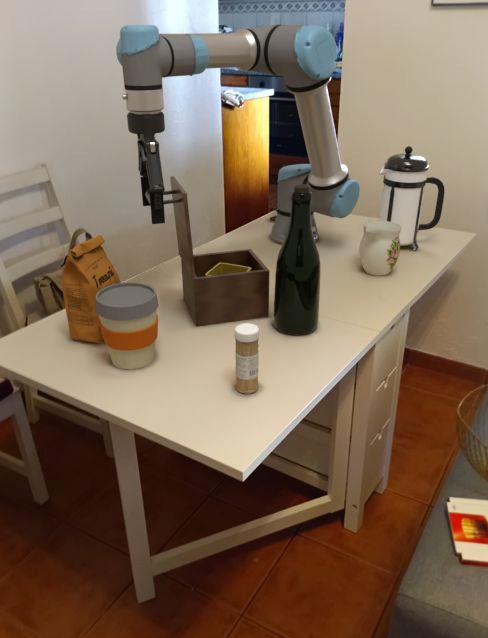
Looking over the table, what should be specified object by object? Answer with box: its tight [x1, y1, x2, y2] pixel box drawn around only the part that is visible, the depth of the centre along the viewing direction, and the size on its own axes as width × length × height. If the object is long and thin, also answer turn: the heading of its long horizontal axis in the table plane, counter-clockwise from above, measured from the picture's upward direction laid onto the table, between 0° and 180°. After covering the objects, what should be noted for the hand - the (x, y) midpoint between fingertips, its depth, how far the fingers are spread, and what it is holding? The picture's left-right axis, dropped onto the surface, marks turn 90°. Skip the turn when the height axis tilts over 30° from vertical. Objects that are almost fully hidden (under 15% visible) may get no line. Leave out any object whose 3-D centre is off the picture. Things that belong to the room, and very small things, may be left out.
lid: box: [145, 175, 196, 277], centre depth 133 cm, size 19×15×7 cm
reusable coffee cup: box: [96, 281, 160, 370], centre depth 123 cm, size 13×13×15 cm
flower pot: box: [205, 263, 251, 276], centre depth 145 cm, size 9×9×9 cm
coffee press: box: [378, 145, 446, 251], centre depth 180 cm, size 17×16×30 cm
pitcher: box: [359, 220, 401, 277], centre depth 166 cm, size 11×18×14 cm, turn 143°
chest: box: [180, 248, 271, 327], centre depth 144 cm, size 18×15×12 cm
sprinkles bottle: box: [234, 322, 260, 395], centre depth 113 cm, size 5×5×13 cm
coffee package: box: [61, 234, 121, 343], centre depth 131 cm, size 10×12×22 cm
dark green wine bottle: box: [273, 184, 321, 336], centre depth 131 cm, size 10×10×33 cm
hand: (153, 214), depth 131 cm, fingers open, 13 cm apart
